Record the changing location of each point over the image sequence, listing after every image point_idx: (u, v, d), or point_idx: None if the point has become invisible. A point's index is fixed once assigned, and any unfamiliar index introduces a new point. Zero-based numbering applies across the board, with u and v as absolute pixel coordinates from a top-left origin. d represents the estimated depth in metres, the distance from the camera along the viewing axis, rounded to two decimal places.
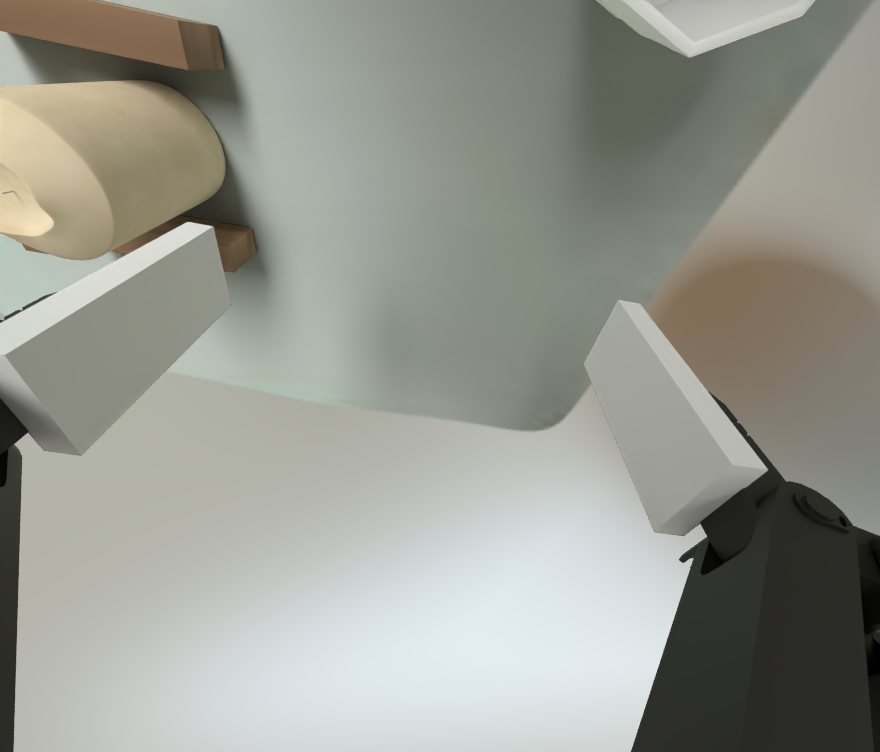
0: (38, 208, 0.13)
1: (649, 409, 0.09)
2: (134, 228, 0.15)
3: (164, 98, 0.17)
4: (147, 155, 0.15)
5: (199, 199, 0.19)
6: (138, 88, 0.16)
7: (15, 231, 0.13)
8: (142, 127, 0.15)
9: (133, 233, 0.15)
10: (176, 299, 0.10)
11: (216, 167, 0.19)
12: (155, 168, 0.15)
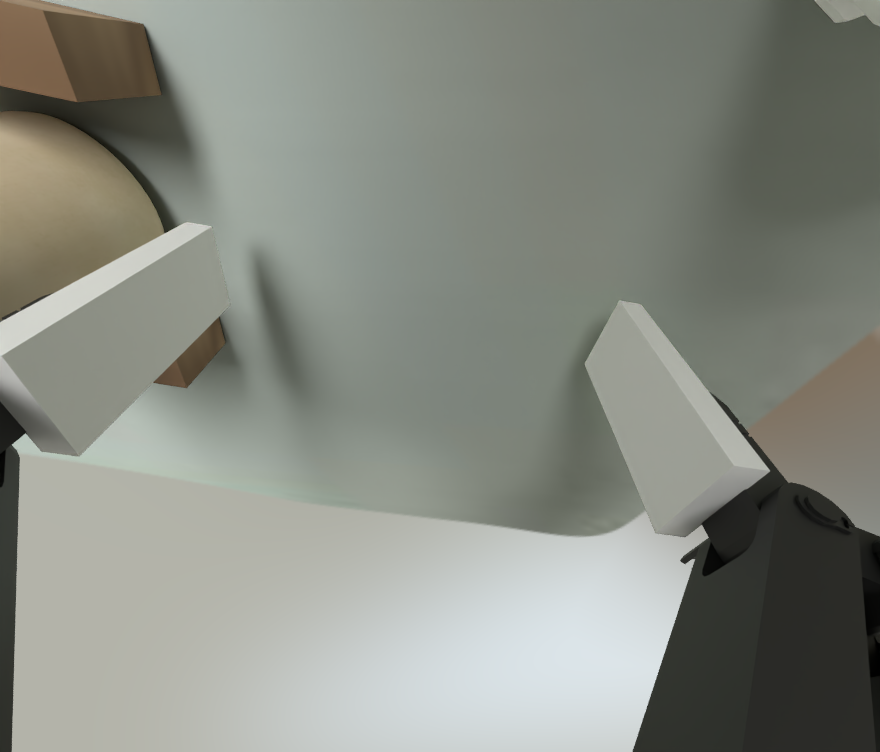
0: None
1: (650, 410, 0.09)
2: None
3: (37, 146, 0.10)
4: None
5: None
6: None
7: None
8: None
9: None
10: (175, 299, 0.10)
11: None
12: None
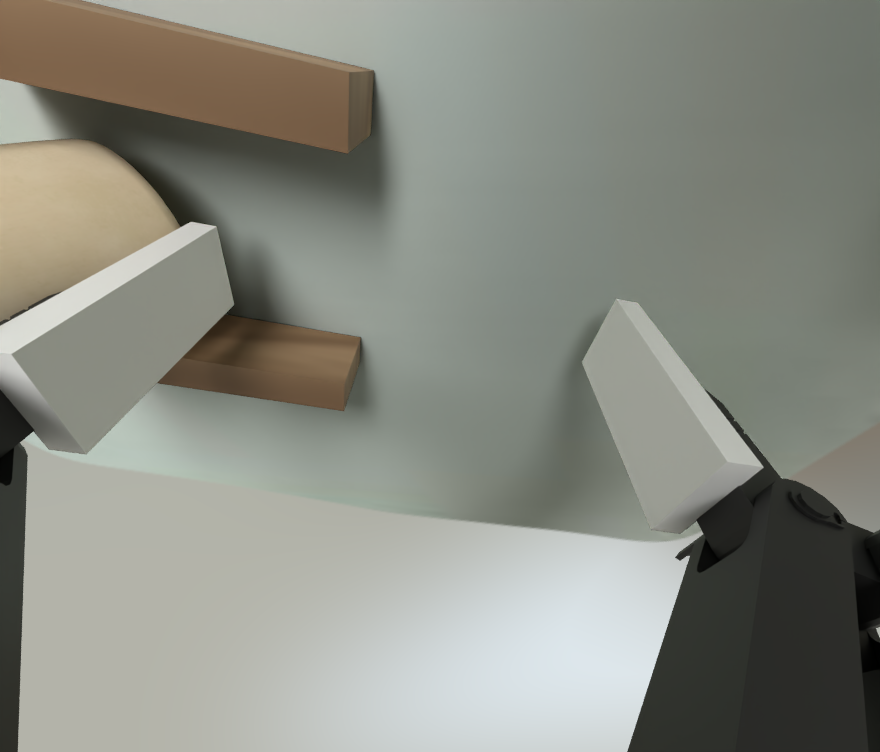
0: None
1: (646, 407, 0.09)
2: None
3: (69, 183, 0.09)
4: None
5: None
6: (12, 167, 0.08)
7: None
8: None
9: None
10: (180, 299, 0.10)
11: None
12: None
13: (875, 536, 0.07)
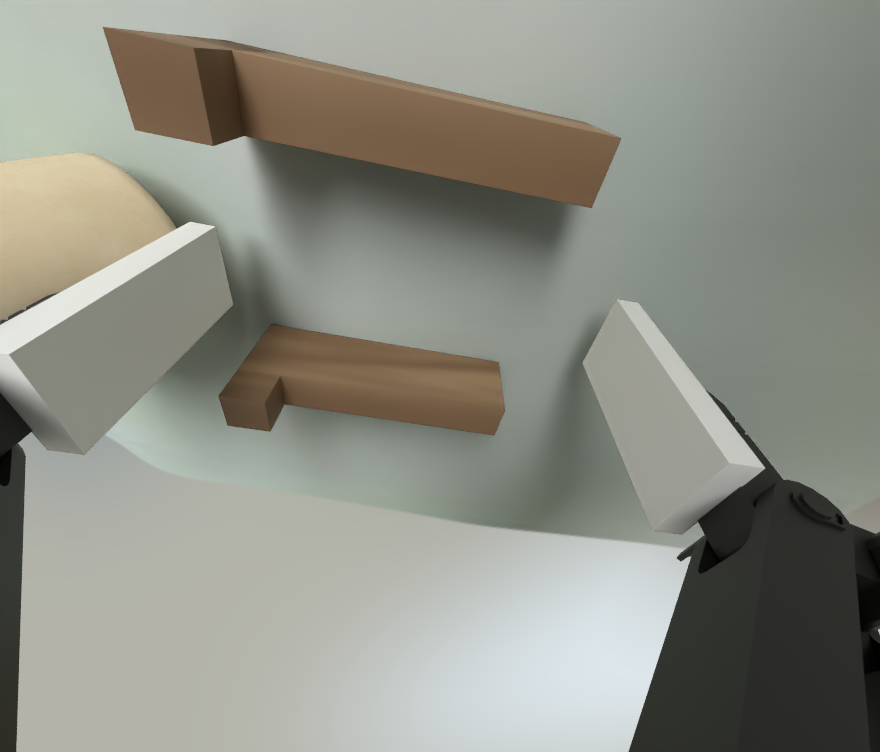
0: None
1: (647, 408, 0.09)
2: None
3: (68, 193, 0.09)
4: None
5: None
6: (13, 181, 0.09)
7: None
8: None
9: None
10: (178, 299, 0.10)
11: None
12: None
13: (877, 537, 0.07)
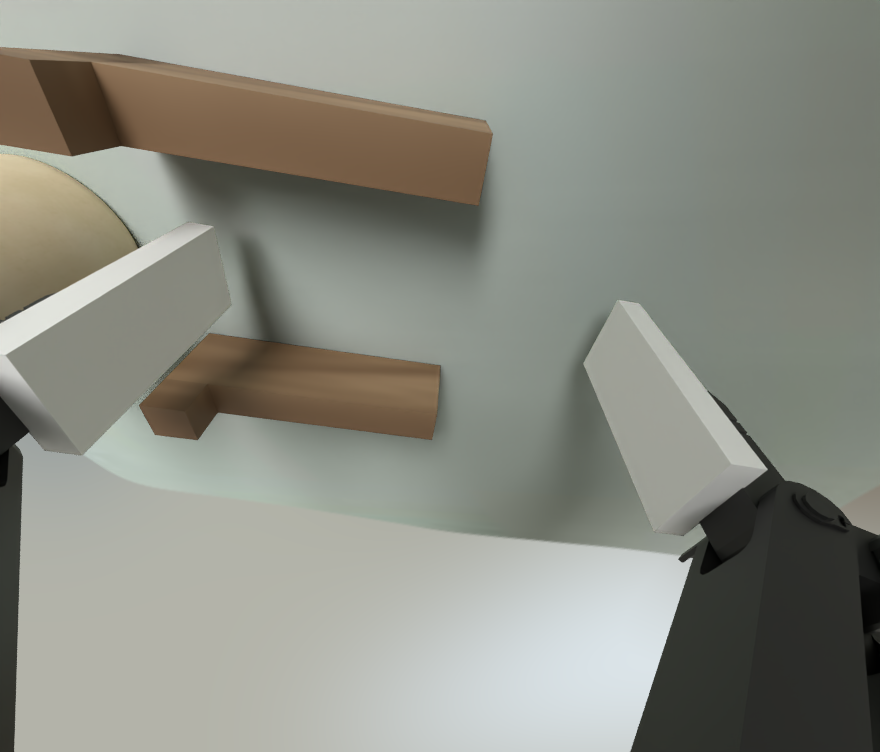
0: None
1: (649, 409, 0.09)
2: None
3: (9, 181, 0.10)
4: None
5: None
6: None
7: None
8: None
9: None
10: (176, 299, 0.10)
11: None
12: None
13: None
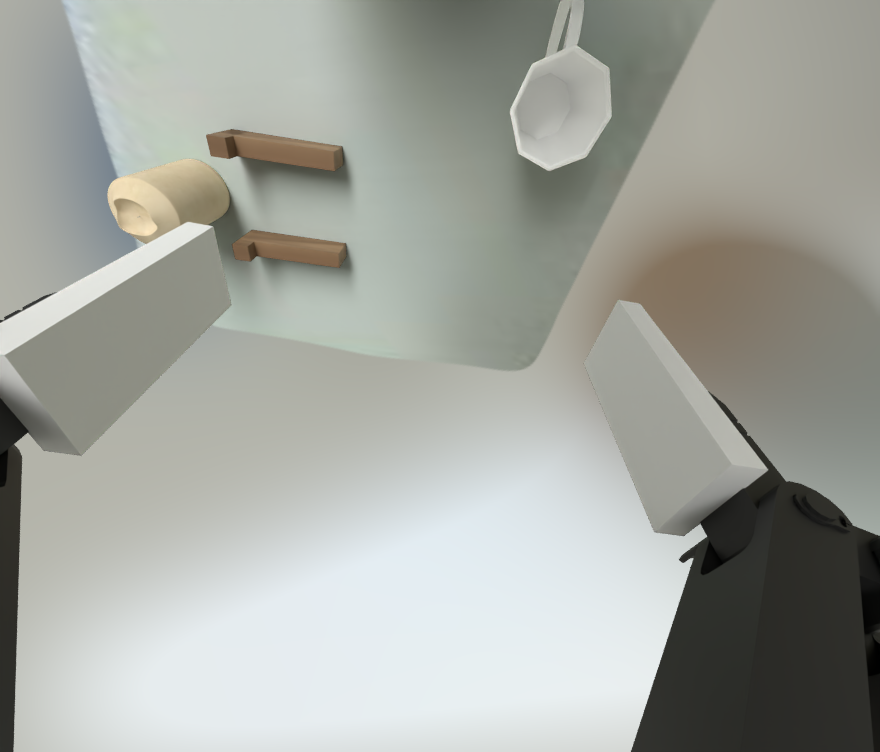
0: (150, 222, 0.30)
1: (649, 409, 0.09)
2: None
3: (196, 167, 0.33)
4: (191, 195, 0.31)
5: (217, 216, 0.36)
6: (184, 164, 0.33)
7: (140, 234, 0.30)
8: (188, 182, 0.31)
9: None
10: (176, 299, 0.10)
11: (224, 198, 0.36)
12: (195, 201, 0.32)
13: None
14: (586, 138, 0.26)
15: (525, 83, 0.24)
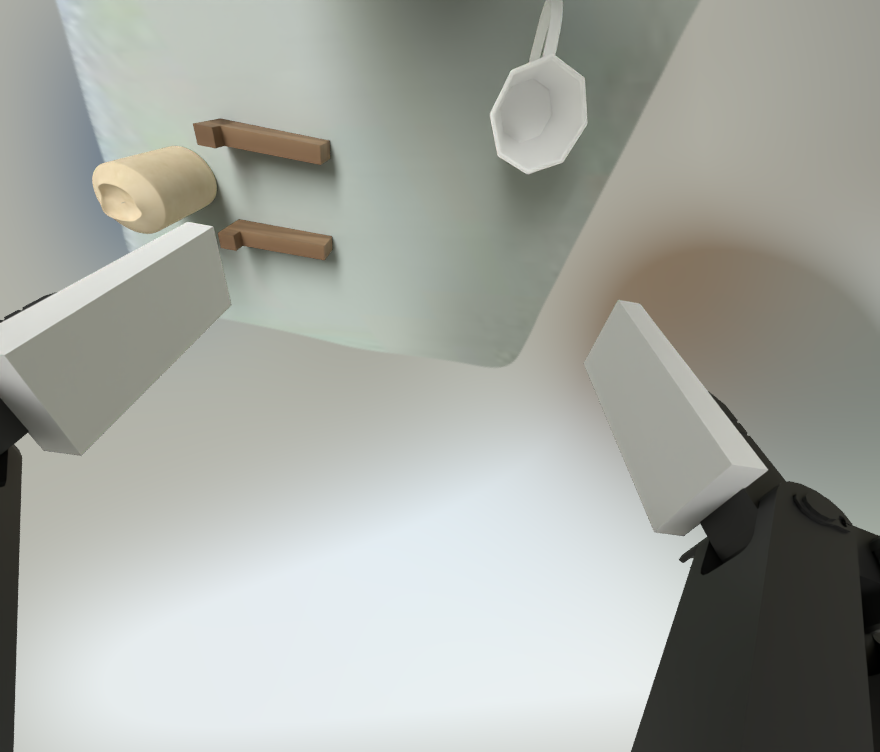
0: (134, 208, 0.30)
1: (649, 409, 0.09)
2: (173, 216, 0.32)
3: (184, 154, 0.34)
4: (177, 182, 0.32)
5: (203, 204, 0.36)
6: (171, 151, 0.33)
7: (125, 219, 0.30)
8: (174, 170, 0.32)
9: (172, 219, 0.32)
10: (176, 299, 0.10)
11: (211, 186, 0.36)
12: (181, 188, 0.32)
13: None
14: (563, 144, 0.27)
15: (504, 88, 0.25)
